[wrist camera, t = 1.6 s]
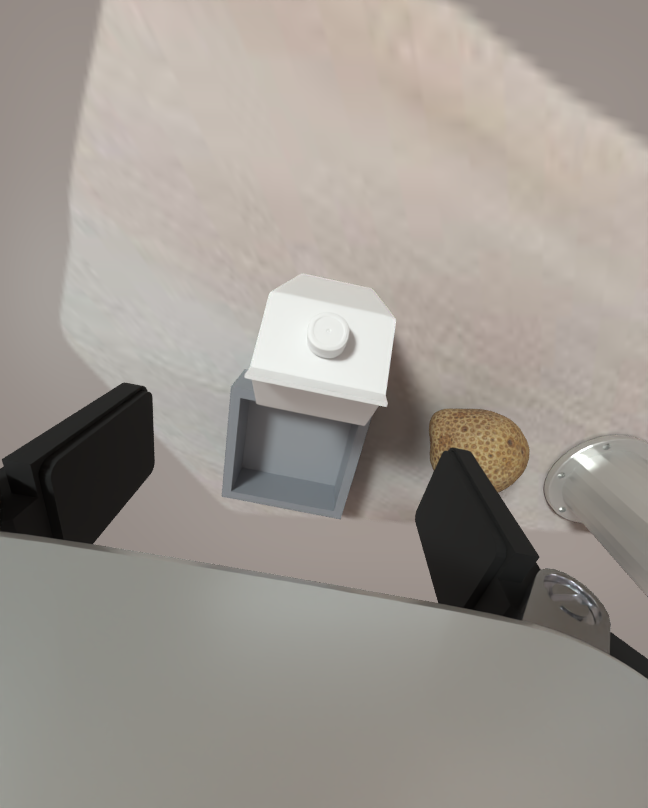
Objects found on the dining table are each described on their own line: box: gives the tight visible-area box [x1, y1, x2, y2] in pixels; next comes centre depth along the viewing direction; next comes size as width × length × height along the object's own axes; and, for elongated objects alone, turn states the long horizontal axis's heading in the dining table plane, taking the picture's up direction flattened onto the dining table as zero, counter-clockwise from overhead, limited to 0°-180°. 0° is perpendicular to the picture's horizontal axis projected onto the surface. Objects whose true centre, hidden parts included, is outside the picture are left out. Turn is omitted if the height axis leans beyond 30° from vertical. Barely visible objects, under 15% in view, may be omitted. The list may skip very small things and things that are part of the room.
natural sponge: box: [429, 409, 529, 492], centre depth 33 cm, size 9×9×10 cm
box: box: [222, 369, 372, 519], centre depth 37 cm, size 14×14×5 cm
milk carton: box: [244, 273, 396, 426], centre depth 24 cm, size 7×7×19 cm
